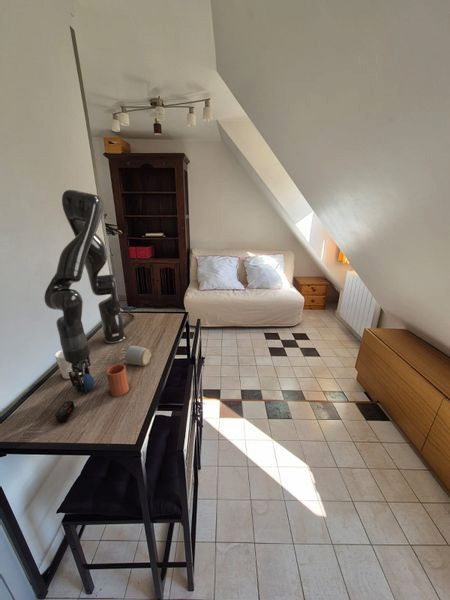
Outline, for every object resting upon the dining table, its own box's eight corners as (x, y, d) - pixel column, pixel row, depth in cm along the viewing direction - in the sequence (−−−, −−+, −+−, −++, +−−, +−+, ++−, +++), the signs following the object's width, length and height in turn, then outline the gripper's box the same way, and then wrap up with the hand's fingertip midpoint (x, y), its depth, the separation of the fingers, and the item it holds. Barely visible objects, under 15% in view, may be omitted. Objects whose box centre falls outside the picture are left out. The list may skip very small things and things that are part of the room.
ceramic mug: (143, 369, 102) (141, 353, 99) (125, 367, 103) (123, 351, 101) (156, 356, 111) (154, 340, 109) (139, 353, 113) (137, 338, 111)
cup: (112, 385, 93) (108, 365, 90) (129, 383, 94) (126, 362, 91) (109, 397, 87) (104, 375, 84) (127, 394, 88) (124, 373, 85)
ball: (79, 386, 93) (75, 371, 91) (97, 383, 94) (94, 369, 92) (73, 397, 87) (69, 382, 85) (93, 394, 88) (89, 379, 86)
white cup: (60, 382, 95) (53, 360, 91) (62, 371, 101) (56, 350, 98) (83, 376, 98) (78, 354, 95) (83, 365, 105) (78, 345, 101)
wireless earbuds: (77, 406, 83) (74, 398, 82) (66, 423, 76) (63, 415, 75) (62, 407, 83) (60, 399, 82) (50, 424, 76) (47, 416, 75)
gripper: (80, 354, 78) (91, 397, 84) (92, 333, 92) (100, 372, 97) (54, 358, 77) (66, 401, 83) (69, 336, 90) (79, 375, 96)
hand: (85, 385), depth 90 cm, fingers closed on ball, 6 cm apart
